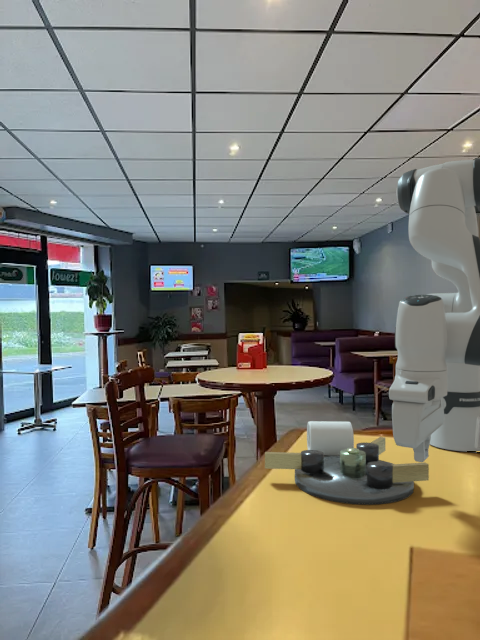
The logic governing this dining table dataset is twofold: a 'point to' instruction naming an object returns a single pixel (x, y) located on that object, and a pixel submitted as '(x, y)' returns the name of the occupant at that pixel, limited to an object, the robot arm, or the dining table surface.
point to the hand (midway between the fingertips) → (421, 459)
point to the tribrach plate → (349, 481)
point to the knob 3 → (395, 473)
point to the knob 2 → (372, 449)
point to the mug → (329, 437)
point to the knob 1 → (296, 461)
